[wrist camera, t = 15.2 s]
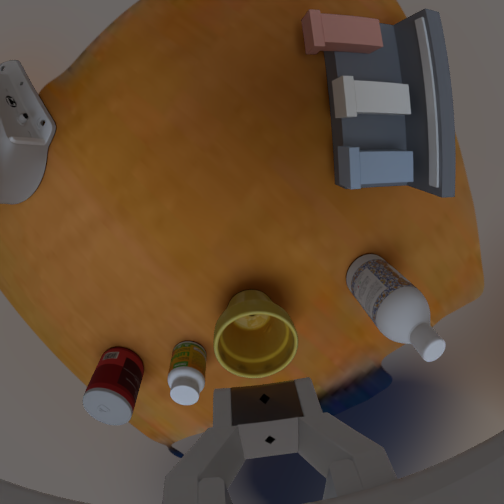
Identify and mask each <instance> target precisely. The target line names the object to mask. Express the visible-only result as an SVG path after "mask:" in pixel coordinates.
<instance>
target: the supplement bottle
mask: <svg viewBox="0 0 504 504" xmlns="http://www.w3.org/2000/svg"><path fill="white" fill-rule="evenodd" d="M205 370H206V352H205V350H204V348H203V347H202V346H201V345H199V344H197V343H195V342H191V341H185V342H181V343H179V344H178V345H176V347H175V348H174V350H173V354H172V359H171V364H170V369H169V373H168V384H169V386H170V388H171V391H170V395H171V398H172V399H173V400H174V401H175V402H177V403H179V404H182V405H191V404H194V403H196V402H197V401H198V399H199V393H200V392H201V391H202V389H203V388H204V385H205Z"/></svg>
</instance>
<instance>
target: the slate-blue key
mask: <svg viewBox="0 0 504 504" xmlns="http://www.w3.org/2000/svg"><path fill="white" fill-rule="evenodd" d="M338 163H339V184H340V185H342V186H345V187H347V188H349V189H361V184H376V183H396V182H413V151H406V150H399V149H366V150H359V147H352V146H338Z"/></svg>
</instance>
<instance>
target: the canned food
mask: <svg viewBox="0 0 504 504" xmlns="http://www.w3.org/2000/svg"><path fill="white" fill-rule="evenodd" d="M143 373H144V368H143V363H142V361H141V359H140V358H139V356H138V355H137V354H135V353H134V352H133V351H131V350H129V349H126V348H122V347H115V348H111V349H109V350H107V351H106V352H105V353H104V354H103V355H102V357H101V359H100V361H99V363H98V365H97V367H96V369H95V372H94V374H93V376H92V378H91V380H90V382H89V384H88V387H87V389H86V391H85V394H84V397H83V405H84V408H85V409H86V411H87V412H88V413H89V414H90V415H91V416H92V417H93V418H95V419H97V420H98V421H100V422H103V423H105V424H109V425H122V424H125V423H127V422H128V421H129V420H130V419H131V416H132V414H133V410H134V407H135V403H136V399H137V395H138V391H139V388H140V384H141V380H142V377H143Z"/></svg>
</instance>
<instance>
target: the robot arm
mask: <svg viewBox="0 0 504 504" xmlns="http://www.w3.org/2000/svg"><path fill="white" fill-rule="evenodd" d="M4 67H5V69H4ZM3 69H4V70H3ZM44 120H45V124H44V125H43V121H44ZM55 130H56V125H55V122H54V121H53V119H52V117H51V116H50V114H49V112H48V111H47V109H46V107H45V106H44V104H43V102H42V101H41V99H40V97H39V95H38V94H37V92H36V90H35V88H34V87H33V85H32V83H31V81H30V79H29V78H28V76H27V74H26V72H25V70H24V69H23V67H22V65H21V63H20V62H19V61H18V60H10V61H7V62H4V63H2V64H0V204H3V203H4V204H18V203H21V202H23V201H25V200H26V199H28V198H29V197H30V196H31V195H32V194H33V193H34V192H35V190H36V189H37V187H38V186H39V184H40V182H41V180H42V177H43V174H44V171H45V166H46V160H47V151H48V147H49V145H50V143H51V140H52V138H53V136H54V134H55ZM296 452H299V454H300V455H301V456H302V457H303V458H304V459H305V460H306V461H308V462H309V463H310V464H311V465H312V466H313V467H314V468H315V469H316V470H318V471H319V472H320V473H321V474H322V475H323V476H324V477H326V478H327V480H326V486H325V491H324V496H323V500H321V501H316V502H311V503H306V504H504V430H503V431H501V432H500V433H498V434H496V435H495V436H493V437H491V438H489V439H488V440H486V441H484V442H482V443H480V444H478V445H476V446H474V447H472V448H470V449H468V450H466V451H464V452H462V453H461V454H458V455H456V456H454V457H452V458H450V459H447V460H445V461H443V462H441V463H438V464H436V465H434V466H431V467H429V468H427V469H424V470H422V471H419V472H416V473H414V474H411V475H409V476H406V477H403V478H400V479H397V477H396V475H395V473H394V471H393V468H392V466H391V463H390V461H389V459H388V457H387V454H386V452H385V450H384V448H383V447H381V446H380V445H378V444H376V443H375V442H373V441H372V440H370V439H368V438H367V437H365V436H363V435H362V434H360V433H359V432H357V431H355V430H354V429H352V428H351V427H349V426H347V425H346V424H344V423H343V422H341V421H340V420H338V419H336V418H335V417H333V416H332V415H330V414H329V413H322V410H321V407H320V404H319V401H318V398H317V395H316V392H315V389H314V386H313V383H312V381H311V379H310V378H309V377H307V378H302V379H296V380H294V381H293V380H290V381H284V382H277V383H270V384H263V385H255V386H244V387H232V388H222V389H215V390H214V398H213V428H208V429H207V430H206V431H205V432H204V434H203V435H202V436H201V437H200V438H199V439H198V441H197V442H196V443H195V444H194V445H193V446H192V447H191V448H190V450H189V451H188V452H187V453H186V454H185V455H184V456H183V458H182V459H181V460H180V461H179V462H178V463H177V464H176V466H175V467H174V468H173V469H172V470H171V471H170V472H169V473H168V474H167V475H166V476H165V482H164V491H163V500H162V504H233V503H232V500H231V497H230V495H229V492H228V488H229V486H230V484H231V483H232V481H233V479H234V478H235V476H236V475H237V473H238V471H239V470H240V468H241V466H242V465H243V463H244V461H245V459H250V458H258V457H265V456H273V455H280V454H289V453H296ZM0 504H89V503H84V502H79V501H75V500H70V499H66V498H61V497H57V496H53V495H50V494H45V493H42V492H39V491H35V490H32V489H28V488H25V487H22V486H19V485H16V484H13V483H10V482H8V481H5V480H2V479H0Z"/></svg>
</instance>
